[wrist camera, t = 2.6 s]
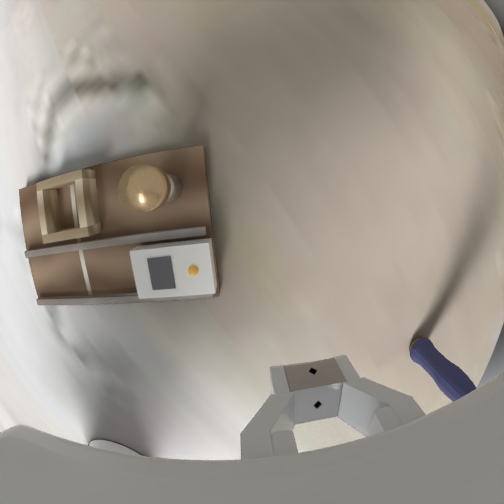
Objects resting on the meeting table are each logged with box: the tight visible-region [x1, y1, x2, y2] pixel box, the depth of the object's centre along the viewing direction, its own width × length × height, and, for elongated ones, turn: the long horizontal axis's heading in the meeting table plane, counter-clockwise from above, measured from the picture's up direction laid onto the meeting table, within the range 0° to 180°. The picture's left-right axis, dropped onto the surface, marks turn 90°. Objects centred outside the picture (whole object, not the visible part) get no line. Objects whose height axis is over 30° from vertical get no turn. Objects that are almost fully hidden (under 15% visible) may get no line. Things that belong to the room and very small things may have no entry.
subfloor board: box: [19, 145, 220, 305], centre depth 27 cm, size 16×26×2 cm, turn 95°
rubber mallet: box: [409, 338, 476, 402], centre depth 20 cm, size 12×8×30 cm, turn 128°
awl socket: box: [36, 169, 102, 244], centre depth 25 cm, size 7×7×3 cm
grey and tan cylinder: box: [118, 164, 182, 213], centre depth 22 cm, size 4×4×8 cm
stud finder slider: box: [129, 238, 217, 299], centre depth 26 cm, size 5×8×3 cm, turn 95°
